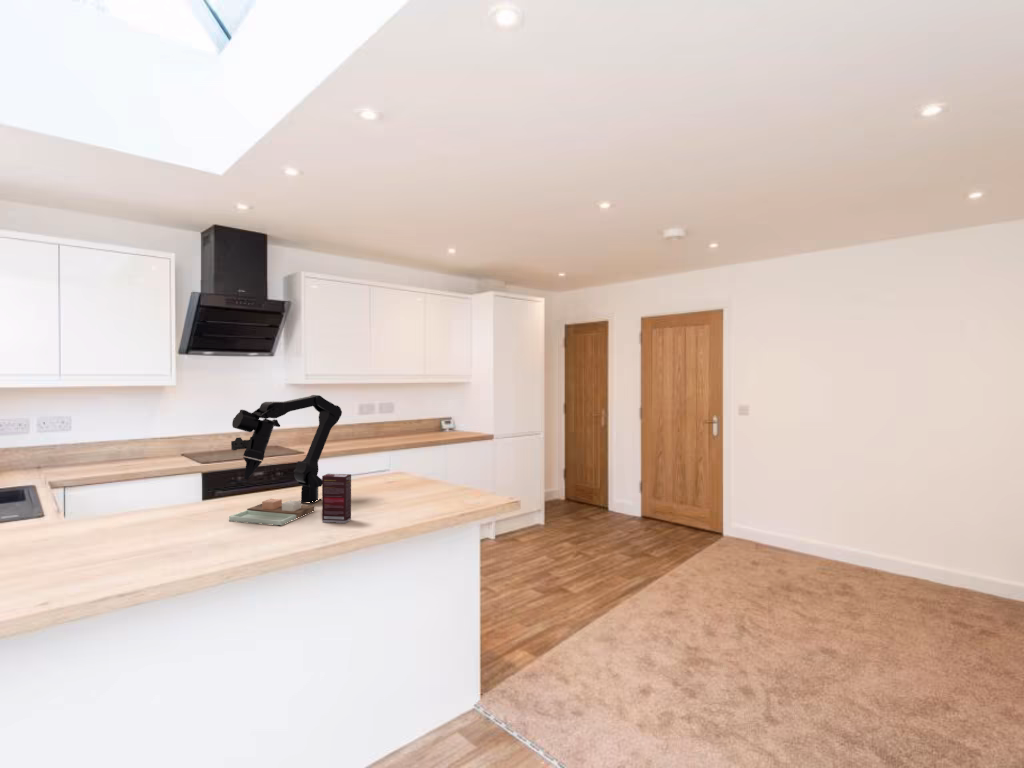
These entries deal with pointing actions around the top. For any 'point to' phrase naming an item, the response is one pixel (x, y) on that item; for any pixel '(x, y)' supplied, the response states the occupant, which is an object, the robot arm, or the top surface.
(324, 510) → the supplement box
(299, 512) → the walnut board
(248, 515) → the green tray
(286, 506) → the cream tile
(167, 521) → the top surface
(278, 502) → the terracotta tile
